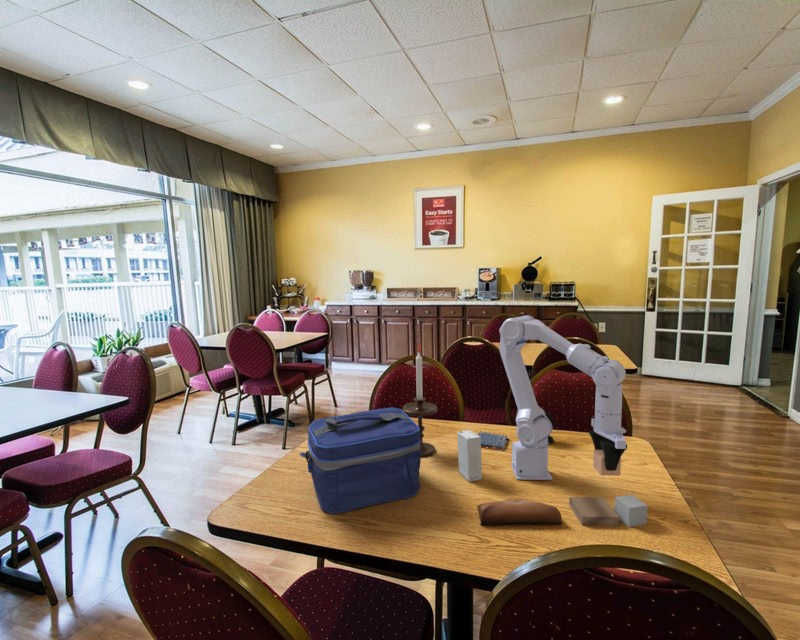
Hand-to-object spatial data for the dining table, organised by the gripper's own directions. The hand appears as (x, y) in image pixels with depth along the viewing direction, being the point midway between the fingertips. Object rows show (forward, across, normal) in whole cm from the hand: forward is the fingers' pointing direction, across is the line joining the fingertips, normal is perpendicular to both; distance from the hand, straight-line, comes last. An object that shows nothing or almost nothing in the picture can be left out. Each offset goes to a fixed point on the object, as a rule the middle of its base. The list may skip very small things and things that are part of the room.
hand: (606, 464), depth 100 cm
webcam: (+9, +35, +6) cm, 36 cm away
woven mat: (+9, +33, +23) cm, 41 cm away
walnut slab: (+9, -8, +6) cm, 13 cm away
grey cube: (+8, -9, -2) cm, 13 cm away
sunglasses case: (+9, -8, +23) cm, 26 cm away
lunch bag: (+9, +4, +60) cm, 61 cm away
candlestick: (+9, +26, +46) cm, 54 cm away
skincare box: (+9, +10, +32) cm, 35 cm away
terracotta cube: (+2, 0, 0) cm, 2 cm away
